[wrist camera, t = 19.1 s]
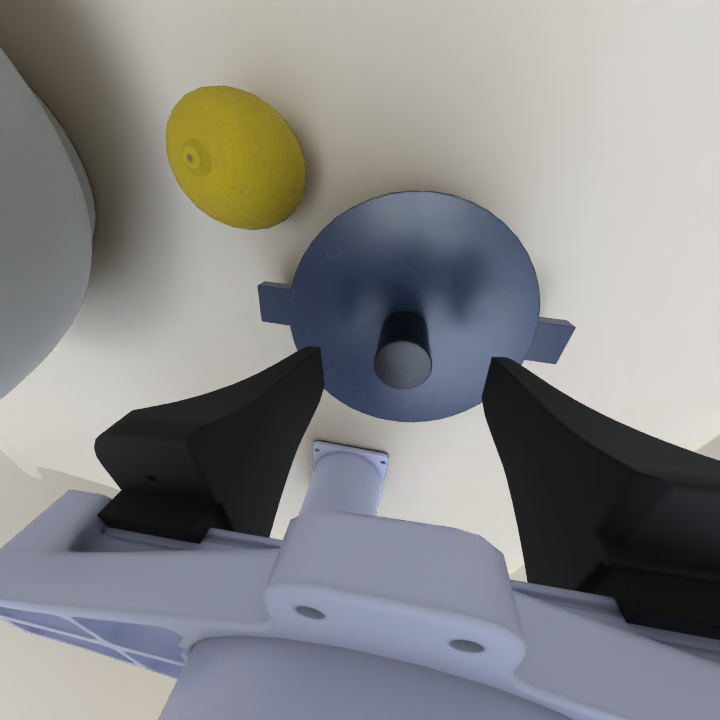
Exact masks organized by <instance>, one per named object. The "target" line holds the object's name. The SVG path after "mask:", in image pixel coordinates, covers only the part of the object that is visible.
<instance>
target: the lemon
mask: <svg viewBox="0 0 720 720" xmlns="http://www.w3.org/2000/svg"><path fill="white" fill-rule="evenodd" d="M166 146H167V154H168V158H169V162H170V166H171V169H172V171H173V173H174V175H175V178H176V180H177V182H178V183H179V185H180V187H181V188H182V190H183V191H184V193H185V194H186V195H187V196H188V197H189V198H190V200H191V201H192V202H193V203H194V204H195V205H196V206H197V207H198V208H199V209H200V210H202V211H203V212H204V213H206V214H207V215H208V216H210V217H211V218H213V219H215V220H217V221H220V222H222V223H224V224H227V225H229V226H232V227H236V228H242V229H249V230H258V229H265V228H271V227H273V226H275V225H277V224H279V223H281V222H283V221H285V220H286V219H287V218H288V217H289V216H290V215H291V214H292V213H293V212H294V211H295V209H296V208H297V206H298V204H299V203H300V201H301V199H302V195H303V192H304V188H305V176H306V172H305V164H304V158H303V155H302V152H301V149H300V146H299V143H298V141H297V139H296V137H295V135H294V134H293V132H292V130H291V129H290V127H289V125H288V124H287V123H286V122H285V120H284V119H283V118H282V117H281V116H280V115H279V114H278V113H277V112H276V110H275V109H274V108H273V107H271V106H270V105H268V104H267V103H265V102H264V101H262V100H261V99H259V98H258V97H256V96H255V95H253V94H251V93H248V92H245V91H242V90H239V89H235V88H232V87H228V86H210V87H200V88H198V89H196V90H194V91H192V92H190V93H188V94H186V95H184V96H183V98H182V99H181V100H180V101H179V102H178V103H177V104H176V106H175V107H174V108H173V110H172V113H171V115H170V117H169V120H168V124H167V131H166Z"/></svg>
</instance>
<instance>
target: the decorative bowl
mask: <svg viewBox="0 0 720 720" xmlns="http://www.w3.org/2000/svg"><path fill="white" fill-rule="evenodd" d="M95 219H96V215H95V205H94V199H93V194H92V190H91V187H90V183H89V180H88V177H87V175H86V172H85V169H84V167H83V165H82V162H81V160H80V158H79V156H78V154H77V152H76V150H75V148H74V146H73V145H72V143H71V141H70V139H69V138H68V136H67V134H66V133H65V131H64V130H63V128H62V127H61V125H60V124H59V122H58V121H57V119H56V118H55V117H54V115H53V114H52V113H51V111H50V110H49V109H48V108H47V106H46V105H45V104H44V103H43V102H42V100H41V99H40V98H39V97H38V96H37V95H36V94H35V93H34V91H33V90H32V89H31V88H30V87H29V86H28V85H27V83H26V82H25V81H24V79H23V78H22V76H21V75H20V74H19V72H18V71H17V69H16V68H15V67H14V65H13V64H12V62H11V61H10V60H9V58H8V57H7V56H6V54H5V53H4V52H3V50H2V49H1V48H0V399H2V398H3V397H4V396H5V395H7V394H8V393H9V392H10V391H11V390H13V389H14V388H15V387H16V386H17V385H18V384H19V383H21V382H22V381H23V380H24V379H25V378H26V377H27V376H28V375H29V374H30V373H31V372H32V371H33V370H34V369H35V368H36V367H37V366H38V365H39V364H40V363H41V362H42V361H43V360H44V359H45V358H46V357H47V356H48V355H49V354H50V352H51V351H52V350H53V349H54V348H55V346H56V345H57V344H58V342H59V341H60V340H61V338H62V337H63V336H64V334H65V333H66V331H67V330H68V328H69V327H70V325H71V323H72V322H73V320H74V318H75V316H76V314H77V312H78V310H79V308H80V306H81V303H82V301H83V298H84V295H85V292H86V289H87V286H88V282H89V277H90V272H91V264H92V237H93V234H94V230H95Z"/></svg>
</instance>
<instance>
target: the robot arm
mask: <svg viewBox="0 0 720 720" xmlns="http://www.w3.org/2000/svg"><path fill="white" fill-rule="evenodd" d="M324 385H325V382H324V373H323V364H322V355H321V347H313V346H307V347H305V348H303V349H301V350H299V351H297V352H295V353H294V354H292V355H290V356H289V357H287V358H285V359H283V360H282V361H280V362H278V363H276V364H275V365H273V366H271V367H269V368H267V369H265V370H263V371H261V372H260V373H258V374H256V375H254V376H251V377H249V378H247V379H245V380H242V381H240V382H238V383H235V384H233V385H230V386H227V387H224V388H221V389H219V390H216V391H213V392H210V393H207V394H203V395H200V396H196V397H193V398H189V399H185V400H181V401H177V402H173V403H168V404H163V405H158V406H153V407H148V408H143V409H137V410H133V411H131V412H129V413H128V414H127V415H126V416H124V417H123V418H122V419H120V420H119V421H118V422H116V423H115V424H114V425H112V426H111V427H110V428H108V429H107V430H106V431H104V432H103V433H102V434H100V435H99V436H98V437H97V438H96V440H95V445H94V449H95V453H96V456H97V458H98V459H99V461H100V463H101V464H102V465H103V467H104V468H105V469H106V471H107V472H108V473H109V474H110V476H111V477H112V478H113V480H114V481H115V482H116V483H117V485H118V486H119V487H120V489H121V491H120V492H119V493H118V494H117V495H116V496H115V498H113V499H111V498H109V497H107V496H105V495H101V494H97V493H91V492H85V491H79V490H69V491H68V492H66V493H65V494H64V495H63V496H62V497H60V498H59V499H58V500H57V501H56V502H55V503H53V504H52V505H51V506H50V507H49V508H48V509H46V510H45V511H44V512H43V513H42V514H40V515H39V516H38V517H37V518H36V519H35V520H33V521H32V522H31V523H30V524H29V525H28V526H26V527H25V528H24V529H23V530H22V531H20V532H19V533H18V534H17V535H16V536H15V537H14V538H12V539H11V540H10V541H9V542H8V543H6V544H5V545H4V546H3V547H2V548H0V619H2V620H4V621H6V622H8V623H9V624H11V625H13V626H15V627H17V628H19V629H21V630H23V631H25V632H27V633H31V634H35V635H38V636H41V637H45V638H48V639H52V640H56V641H59V642H62V643H66V644H69V645H73V646H76V647H79V648H82V649H86V650H89V651H92V652H95V653H98V654H101V655H104V656H107V657H110V658H113V659H116V660H120V661H123V662H126V663H129V664H132V665H135V666H138V667H141V668H144V669H147V670H150V671H153V672H156V673H159V674H162V675H165V676H168V677H171V678H174V679H177V682H176V684H175V686H174V688H173V690H172V692H171V694H170V696H169V698H168V700H167V702H166V704H165V706H164V708H163V710H162V713H161V715H160V717H159V719H158V720H720V461H719V460H716V459H713V458H710V457H706V456H704V455H701V454H697V453H695V452H692V451H690V450H687V449H684V448H681V447H679V446H676V445H673V444H670V443H668V442H665V441H663V440H660V439H658V438H655V437H652V436H650V435H647V434H645V433H643V432H640V431H638V430H636V429H633V428H631V427H629V426H626V425H624V424H622V423H620V422H617V421H615V420H613V419H611V418H609V417H607V416H605V415H603V414H601V413H599V412H597V411H595V410H593V409H591V408H589V407H587V406H585V405H583V404H582V403H580V402H578V401H576V400H574V399H573V398H571V397H569V396H568V395H566V394H564V393H563V392H561V391H559V390H558V389H556V388H554V387H553V386H551V385H550V384H548V383H547V382H545V381H544V380H542V379H541V378H539V377H538V376H536V375H535V374H533V373H532V372H530V371H529V370H527V369H526V368H524V367H523V366H521V365H520V364H518V363H517V362H515V361H514V360H512V359H510V358H508V357H492V358H491V362H490V366H489V370H488V373H487V377H486V381H485V385H484V389H483V393H482V402H483V408H484V413H485V417H486V420H487V423H488V426H489V429H490V432H491V434H492V437H493V440H494V443H495V445H496V448H497V451H498V453H499V456H500V459H501V462H502V464H503V467H504V471H505V474H506V477H507V481H508V486H509V490H510V494H511V498H512V502H513V507H514V512H515V516H516V521H517V526H518V531H519V536H520V541H521V546H522V552H523V557H524V563H525V569H526V575H527V581H528V583H527V582H521V581H515V580H510V578H509V575H508V571H507V567H506V563H505V559H504V555H503V553H501V552H500V551H499V550H498V549H496V548H495V547H494V546H493V545H491V544H490V543H489V542H488V541H486V540H485V539H484V538H483V537H481V536H479V535H476V534H473V533H470V532H466V531H463V530H460V529H456V528H452V527H445V526H438V525H432V524H425V523H418V522H412V521H405V520H398V519H392V518H385V517H378V516H376V514H377V508H378V507H379V502H380V498H381V493H382V488H383V483H384V478H385V473H386V468H387V463H388V455H387V454H385V453H379V452H374V451H369V450H363V449H358V448H353V447H347V446H342V445H337V444H331V443H326V442H321V441H315V442H314V443H313V476H312V479H311V482H310V485H309V488H308V490H307V493H306V496H305V499H304V502H303V504H302V507H301V510H300V513H299V516H297V517H295V518H293V519H291V520H290V523H289V526H288V528H287V531H286V534H285V536H284V539H283V540H278V539H273V538H269V537H270V533H271V530H272V526H273V522H274V519H275V515H276V512H277V509H278V505H279V502H280V499H281V495H282V492H283V489H284V486H285V483H286V480H287V477H288V474H289V471H290V468H291V465H292V462H293V459H294V457H295V454H296V451H297V449H298V446H299V444H300V442H301V440H302V438H303V435H304V433H305V431H306V429H307V427H308V425H309V423H310V421H311V419H312V417H313V415H314V413H315V411H316V408H317V406H318V404H319V402H320V399H321V396H322V392H323V389H324Z"/></svg>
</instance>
